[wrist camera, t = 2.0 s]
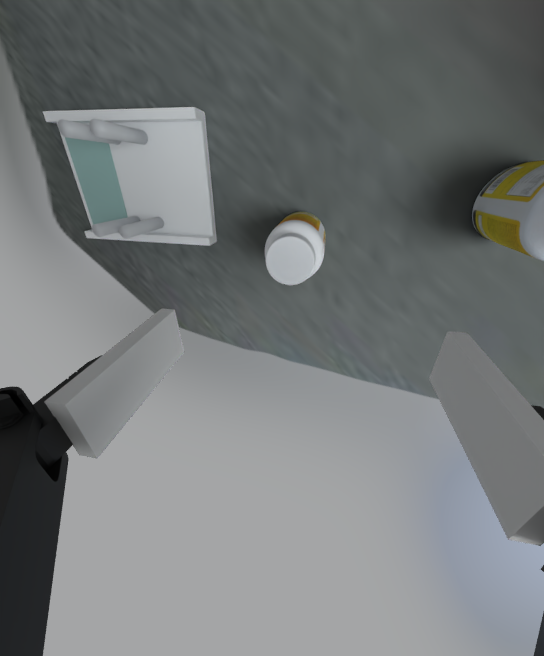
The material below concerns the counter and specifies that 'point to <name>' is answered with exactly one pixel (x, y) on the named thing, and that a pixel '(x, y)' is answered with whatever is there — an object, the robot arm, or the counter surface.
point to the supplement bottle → (295, 248)
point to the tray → (142, 172)
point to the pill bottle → (514, 209)
